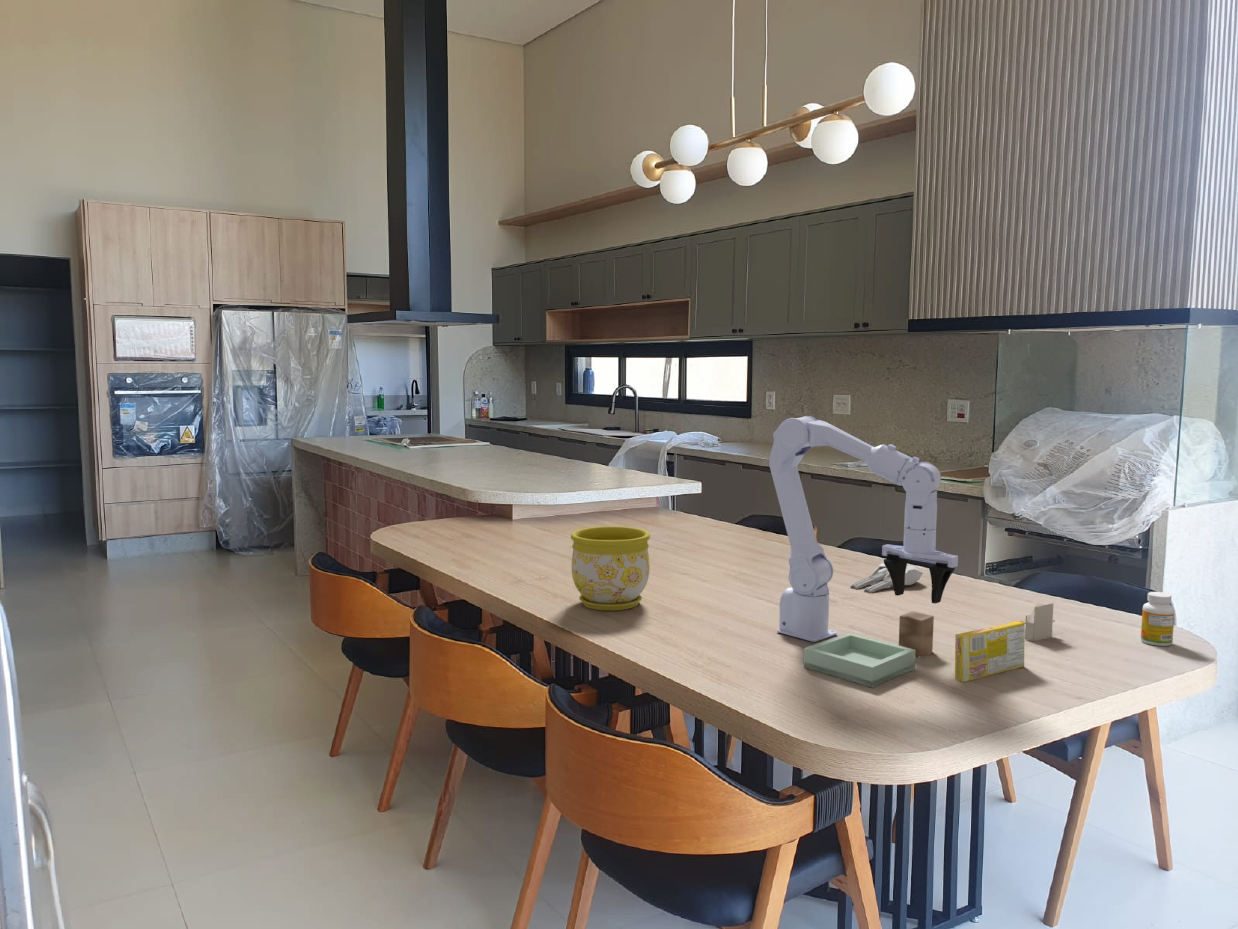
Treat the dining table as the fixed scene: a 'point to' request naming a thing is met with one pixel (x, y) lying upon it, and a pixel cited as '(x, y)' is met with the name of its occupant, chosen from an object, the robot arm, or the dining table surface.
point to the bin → (859, 659)
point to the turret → (886, 578)
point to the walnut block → (916, 632)
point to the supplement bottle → (1158, 620)
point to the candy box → (989, 651)
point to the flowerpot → (610, 566)
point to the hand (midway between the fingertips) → (917, 598)
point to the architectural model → (1039, 622)
